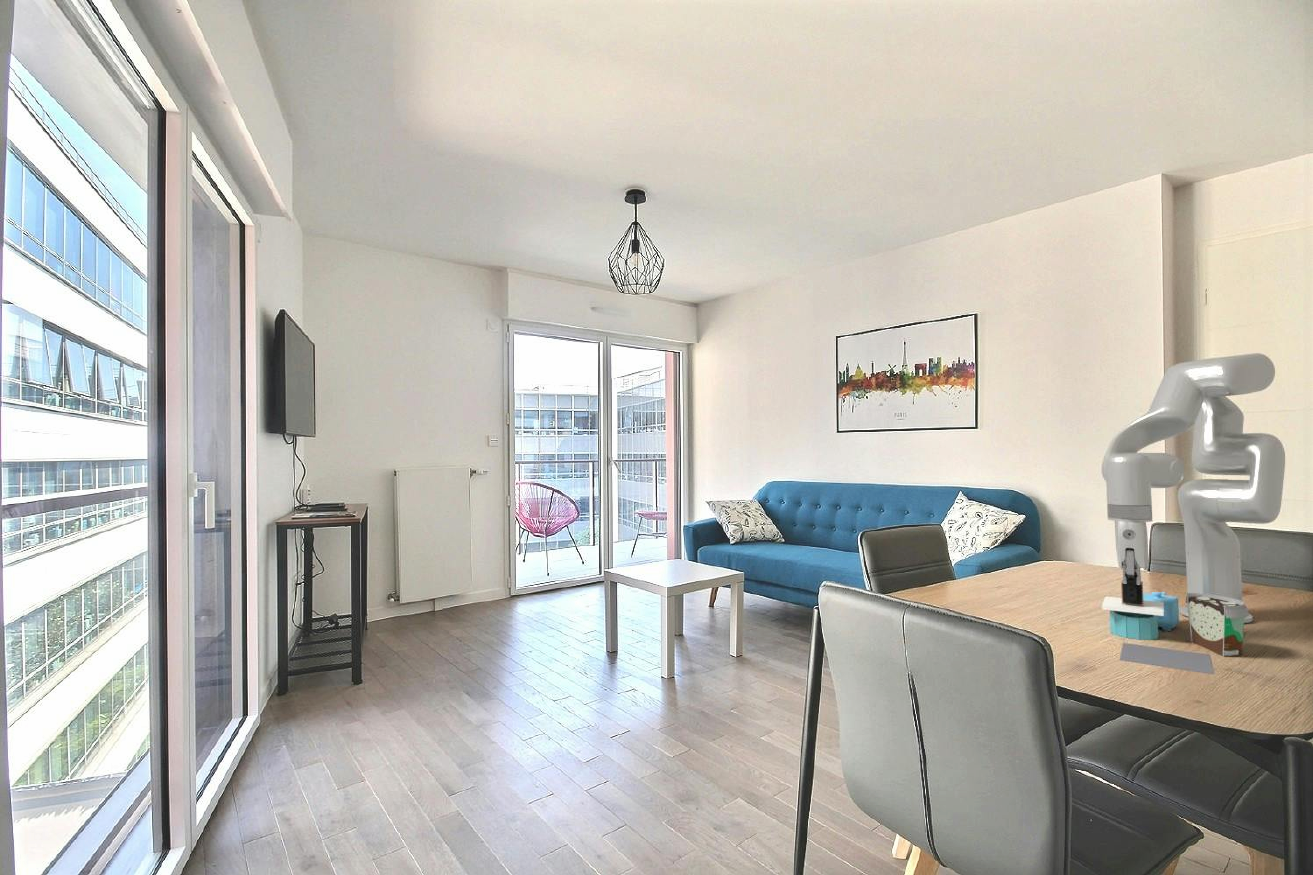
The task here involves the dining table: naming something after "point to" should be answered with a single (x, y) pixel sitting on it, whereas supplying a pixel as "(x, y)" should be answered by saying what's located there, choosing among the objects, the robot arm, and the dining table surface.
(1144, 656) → the mat
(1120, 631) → the bowl
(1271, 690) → the dining table surface
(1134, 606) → the cube on white base
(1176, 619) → the teapot
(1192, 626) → the food container
